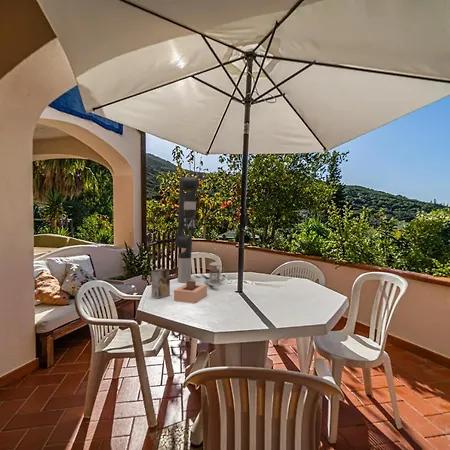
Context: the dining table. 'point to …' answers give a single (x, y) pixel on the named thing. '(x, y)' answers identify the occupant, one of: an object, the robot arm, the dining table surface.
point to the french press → (215, 271)
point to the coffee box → (160, 283)
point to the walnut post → (191, 285)
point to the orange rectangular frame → (190, 293)
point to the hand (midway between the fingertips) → (189, 234)
